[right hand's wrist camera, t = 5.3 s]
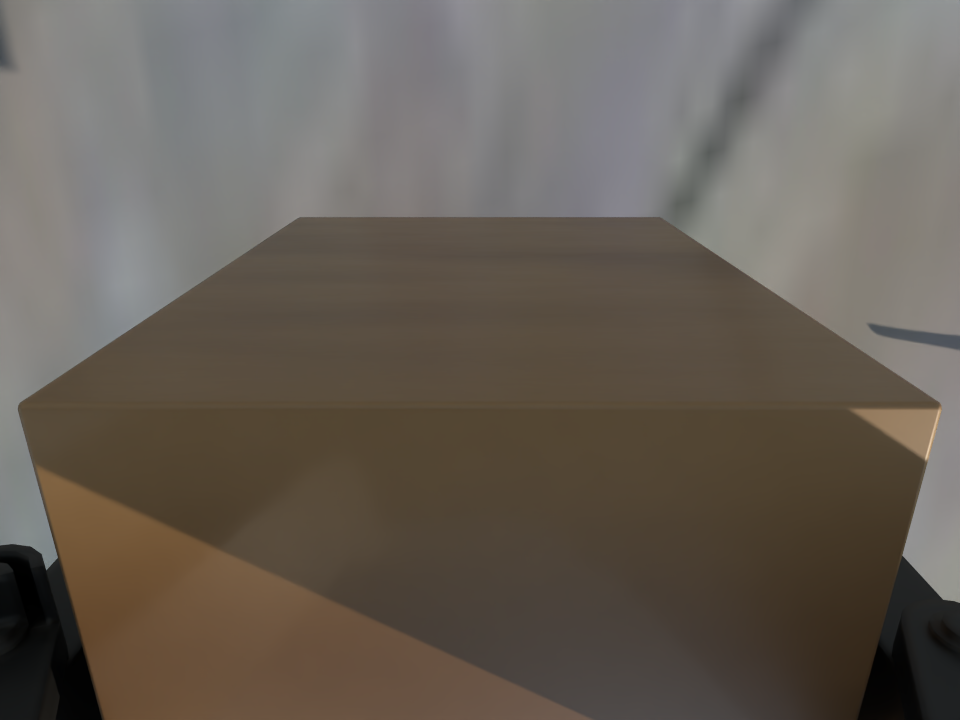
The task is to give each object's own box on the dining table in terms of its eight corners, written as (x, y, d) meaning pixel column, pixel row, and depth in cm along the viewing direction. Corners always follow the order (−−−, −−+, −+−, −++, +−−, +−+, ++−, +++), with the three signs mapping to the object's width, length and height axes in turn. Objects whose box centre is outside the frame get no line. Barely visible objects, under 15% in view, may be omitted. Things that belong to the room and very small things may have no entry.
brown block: (630, 545, 17) (783, 1001, 9) (329, 546, 17) (176, 1003, 9) (662, 216, 14) (946, 403, 6) (297, 217, 14) (12, 404, 6)
